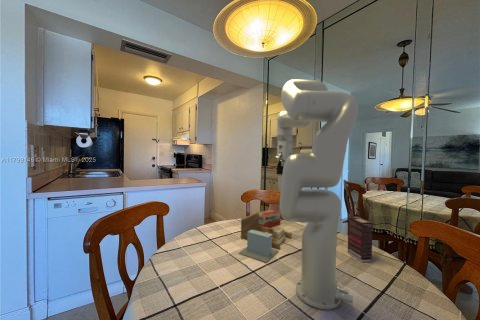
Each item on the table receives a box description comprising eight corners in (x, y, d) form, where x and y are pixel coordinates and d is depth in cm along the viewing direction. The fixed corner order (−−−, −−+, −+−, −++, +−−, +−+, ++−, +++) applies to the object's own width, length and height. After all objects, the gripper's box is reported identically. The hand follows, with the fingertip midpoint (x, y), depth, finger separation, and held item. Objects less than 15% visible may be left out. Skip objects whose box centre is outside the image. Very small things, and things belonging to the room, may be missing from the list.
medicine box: (270, 221, 129) (270, 209, 129) (280, 224, 123) (280, 212, 123) (254, 226, 119) (254, 213, 119) (264, 230, 113) (264, 216, 113)
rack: (291, 238, 102) (292, 218, 102) (279, 249, 89) (279, 227, 88) (256, 229, 114) (257, 211, 114) (240, 238, 100) (241, 218, 100)
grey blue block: (271, 253, 84) (271, 234, 84) (267, 256, 81) (268, 237, 81) (251, 247, 90) (251, 229, 90) (247, 249, 87) (247, 231, 87)
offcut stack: (285, 240, 100) (285, 228, 100) (278, 245, 93) (279, 232, 93) (277, 238, 102) (277, 226, 102) (271, 243, 95) (271, 231, 95)
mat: (278, 251, 87) (278, 250, 87) (266, 263, 77) (266, 262, 77) (252, 243, 94) (253, 243, 94) (238, 253, 84) (238, 252, 84)
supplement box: (372, 261, 80) (373, 222, 80) (361, 262, 79) (362, 222, 79) (356, 251, 88) (357, 216, 88) (346, 252, 87) (347, 216, 87)
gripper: (285, 137, 90) (284, 175, 90) (297, 140, 104) (296, 173, 104) (270, 138, 94) (269, 174, 94) (283, 141, 108) (283, 172, 109)
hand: (283, 173), depth 99 cm, fingers open, 9 cm apart
